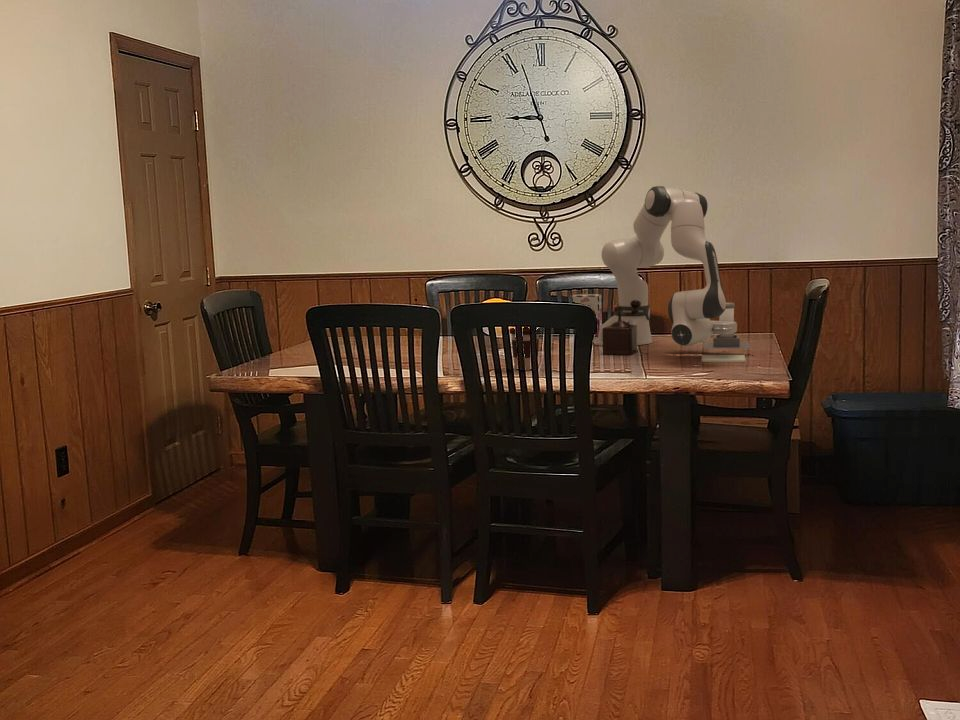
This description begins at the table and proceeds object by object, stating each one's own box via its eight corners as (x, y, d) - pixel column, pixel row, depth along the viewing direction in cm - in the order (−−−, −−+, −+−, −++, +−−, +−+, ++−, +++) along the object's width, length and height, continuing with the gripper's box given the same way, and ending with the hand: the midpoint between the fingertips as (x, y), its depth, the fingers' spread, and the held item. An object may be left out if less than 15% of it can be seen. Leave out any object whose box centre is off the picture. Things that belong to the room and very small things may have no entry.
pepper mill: (632, 355, 364) (632, 304, 361) (602, 354, 368) (601, 303, 366) (642, 349, 378) (642, 299, 376) (613, 348, 383) (612, 299, 380)
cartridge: (718, 346, 373) (718, 304, 370) (718, 343, 378) (719, 302, 376) (734, 346, 371) (734, 304, 369) (734, 343, 377) (734, 302, 374)
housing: (703, 351, 369) (703, 339, 368) (704, 344, 384) (704, 333, 384) (750, 351, 365) (750, 339, 365) (749, 344, 381) (749, 333, 380)
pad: (701, 362, 346) (701, 360, 346) (702, 355, 359) (702, 353, 359) (745, 362, 343) (745, 360, 343) (744, 355, 356) (744, 353, 356)
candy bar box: (602, 334, 418) (602, 294, 416) (599, 336, 414) (599, 295, 411) (575, 334, 422) (574, 293, 419) (572, 336, 417) (571, 295, 415)
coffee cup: (509, 367, 348) (508, 322, 345) (539, 365, 348) (538, 321, 346) (512, 372, 338) (511, 325, 336) (542, 370, 339) (541, 324, 336)
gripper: (729, 320, 346) (743, 315, 357) (671, 318, 357) (686, 313, 368) (729, 339, 347) (743, 334, 358) (671, 336, 358) (686, 331, 369)
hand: (714, 323), depth 363 cm, fingers open, 8 cm apart
